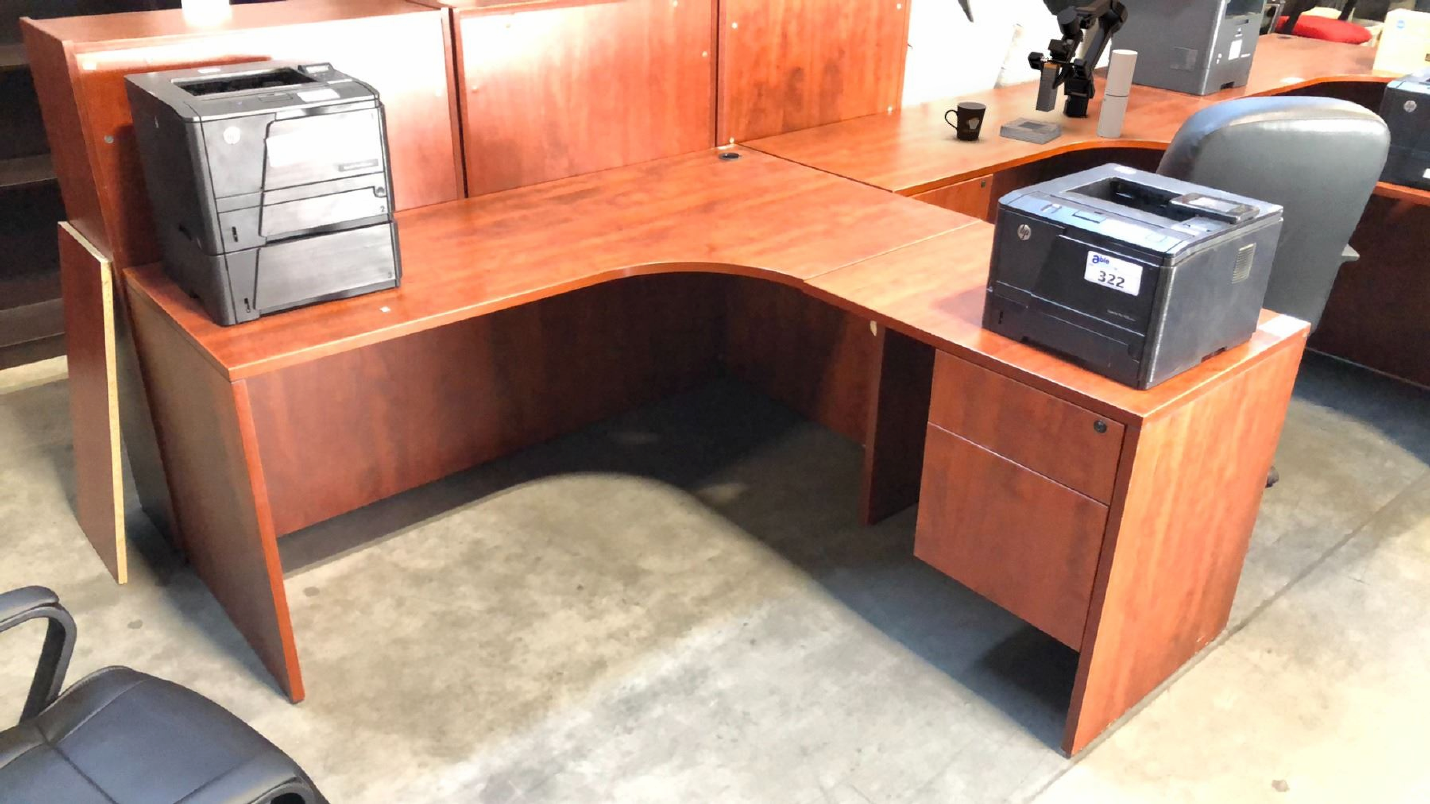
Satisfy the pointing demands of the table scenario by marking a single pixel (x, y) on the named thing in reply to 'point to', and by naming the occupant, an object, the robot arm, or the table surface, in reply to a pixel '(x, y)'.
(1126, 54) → the cylindrical container
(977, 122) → the coffee mug
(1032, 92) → the table surface
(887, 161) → the table surface
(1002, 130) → the silver square socket base
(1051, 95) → the grey orange-tipped tall block
